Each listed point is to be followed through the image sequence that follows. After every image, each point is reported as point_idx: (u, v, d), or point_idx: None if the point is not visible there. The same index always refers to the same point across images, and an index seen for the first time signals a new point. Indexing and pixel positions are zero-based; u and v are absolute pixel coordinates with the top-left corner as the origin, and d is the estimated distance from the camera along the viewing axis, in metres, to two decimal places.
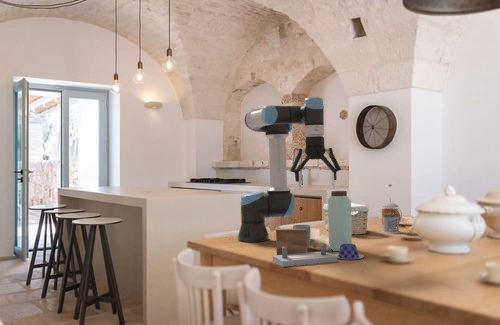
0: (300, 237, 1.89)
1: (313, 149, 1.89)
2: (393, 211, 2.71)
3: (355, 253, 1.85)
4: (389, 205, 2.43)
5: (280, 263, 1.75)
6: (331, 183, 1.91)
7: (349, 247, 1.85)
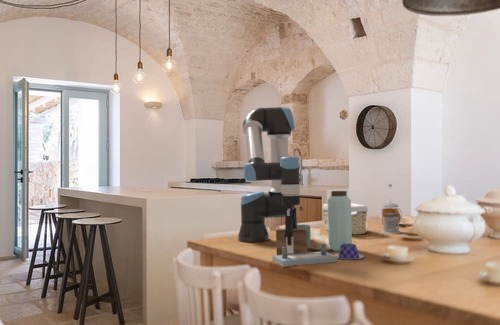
0: (300, 237, 1.89)
1: None
2: (393, 211, 2.71)
3: (354, 253, 1.85)
4: (389, 205, 2.43)
5: (280, 263, 1.75)
6: None
7: (348, 247, 1.85)
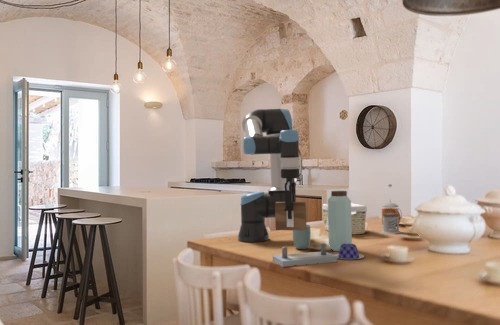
0: (299, 209, 1.89)
1: None
2: (393, 211, 2.71)
3: (354, 253, 1.84)
4: (389, 205, 2.43)
5: (280, 263, 1.75)
6: None
7: (348, 247, 1.85)
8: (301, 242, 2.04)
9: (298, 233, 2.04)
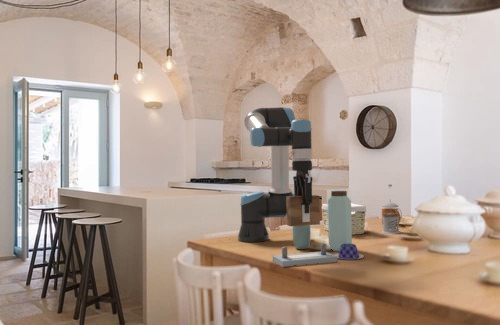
0: (313, 203, 1.80)
1: (298, 171, 1.82)
2: (393, 211, 2.71)
3: (354, 253, 1.84)
4: (389, 205, 2.43)
5: (280, 263, 1.75)
6: None
7: (348, 247, 1.85)
8: (301, 242, 2.04)
9: (298, 233, 2.04)
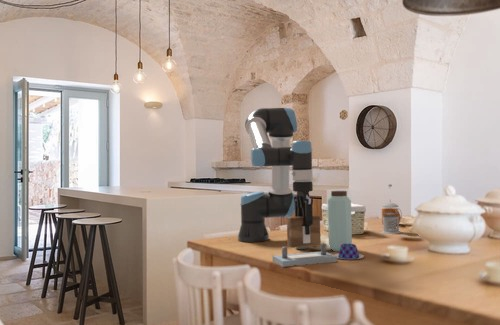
0: (314, 224, 1.80)
1: (298, 192, 1.83)
2: (393, 211, 2.71)
3: (354, 253, 1.84)
4: (389, 205, 2.43)
5: (280, 263, 1.75)
6: None
7: (347, 247, 1.85)
8: None
9: None
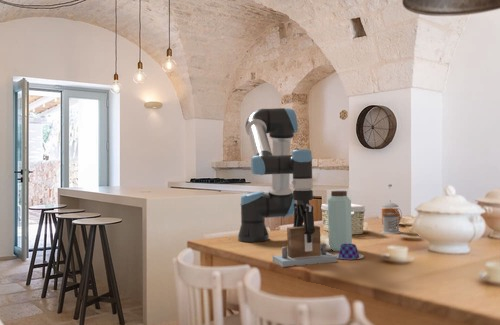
0: (314, 234, 1.81)
1: (299, 201, 1.82)
2: (393, 211, 2.71)
3: (353, 253, 1.84)
4: (389, 205, 2.43)
5: (280, 263, 1.75)
6: None
7: (347, 247, 1.85)
8: None
9: None
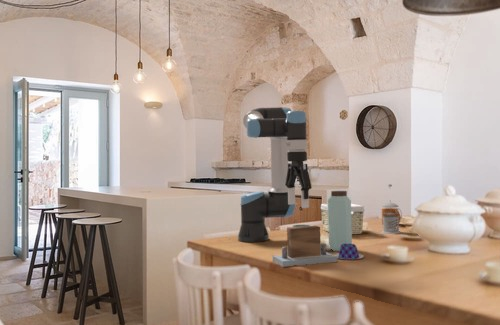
0: (314, 234, 1.81)
1: (293, 164, 1.84)
2: (393, 211, 2.71)
3: (353, 253, 1.84)
4: (389, 205, 2.43)
5: (280, 263, 1.75)
6: None
7: (347, 247, 1.85)
8: None
9: None
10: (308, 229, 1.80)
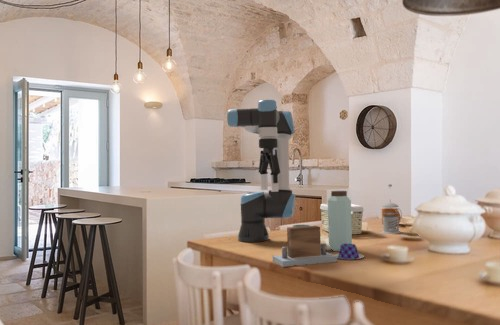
0: (314, 234, 1.81)
1: (265, 151, 1.92)
2: (393, 211, 2.71)
3: (352, 253, 1.84)
4: (389, 205, 2.43)
5: (280, 263, 1.75)
6: None
7: (346, 247, 1.85)
8: None
9: None
10: (308, 229, 1.80)
